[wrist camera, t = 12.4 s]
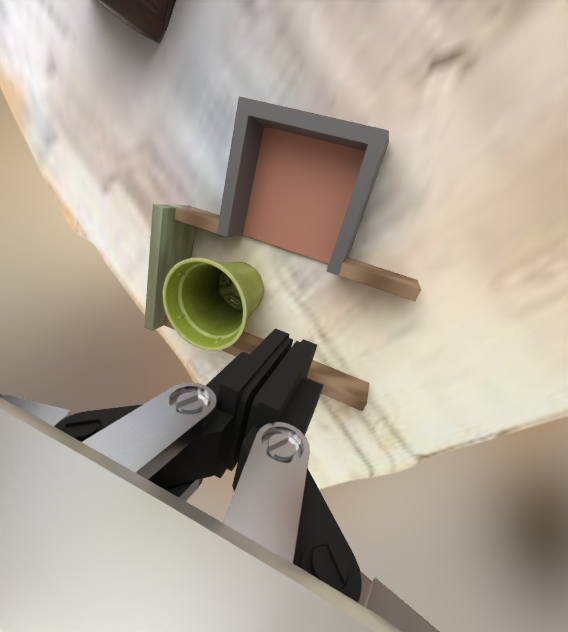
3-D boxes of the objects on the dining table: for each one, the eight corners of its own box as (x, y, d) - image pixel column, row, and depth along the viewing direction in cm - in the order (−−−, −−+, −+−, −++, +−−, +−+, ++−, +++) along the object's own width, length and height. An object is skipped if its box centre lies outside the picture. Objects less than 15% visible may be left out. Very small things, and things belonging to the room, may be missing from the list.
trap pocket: (388, 141, 27) (388, 130, 23) (344, 268, 32) (338, 275, 28) (257, 110, 29) (238, 96, 26) (234, 231, 34) (216, 233, 31)
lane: (417, 280, 30) (423, 294, 24) (365, 391, 35) (361, 422, 30) (189, 205, 35) (153, 204, 30) (176, 312, 41) (144, 327, 36)
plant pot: (290, 272, 34) (261, 290, 26) (259, 335, 38) (225, 367, 30) (223, 233, 35) (176, 239, 27) (200, 298, 39) (153, 320, 31)
